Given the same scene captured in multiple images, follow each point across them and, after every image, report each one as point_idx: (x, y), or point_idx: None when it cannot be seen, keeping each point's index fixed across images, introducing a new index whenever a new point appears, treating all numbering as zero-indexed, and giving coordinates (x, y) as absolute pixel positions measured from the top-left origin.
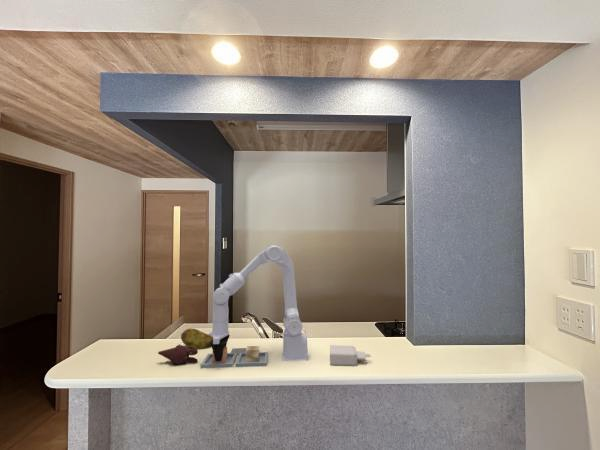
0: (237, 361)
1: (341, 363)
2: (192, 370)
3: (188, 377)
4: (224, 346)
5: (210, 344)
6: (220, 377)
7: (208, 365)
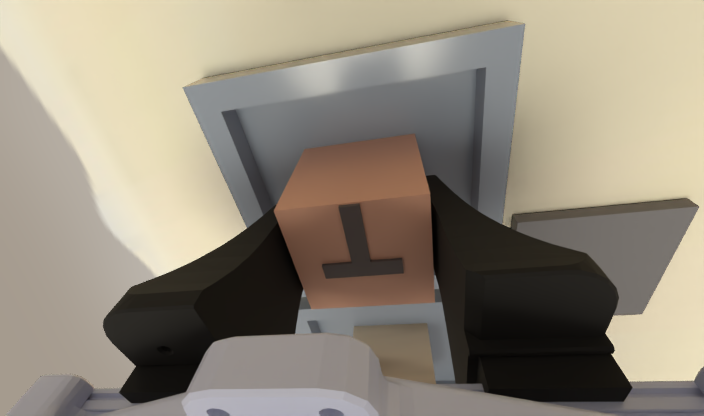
0: (322, 313)
1: None
2: (156, 3)
3: (33, 44)
4: (440, 282)
5: (124, 297)
6: (156, 251)
7: (217, 156)
